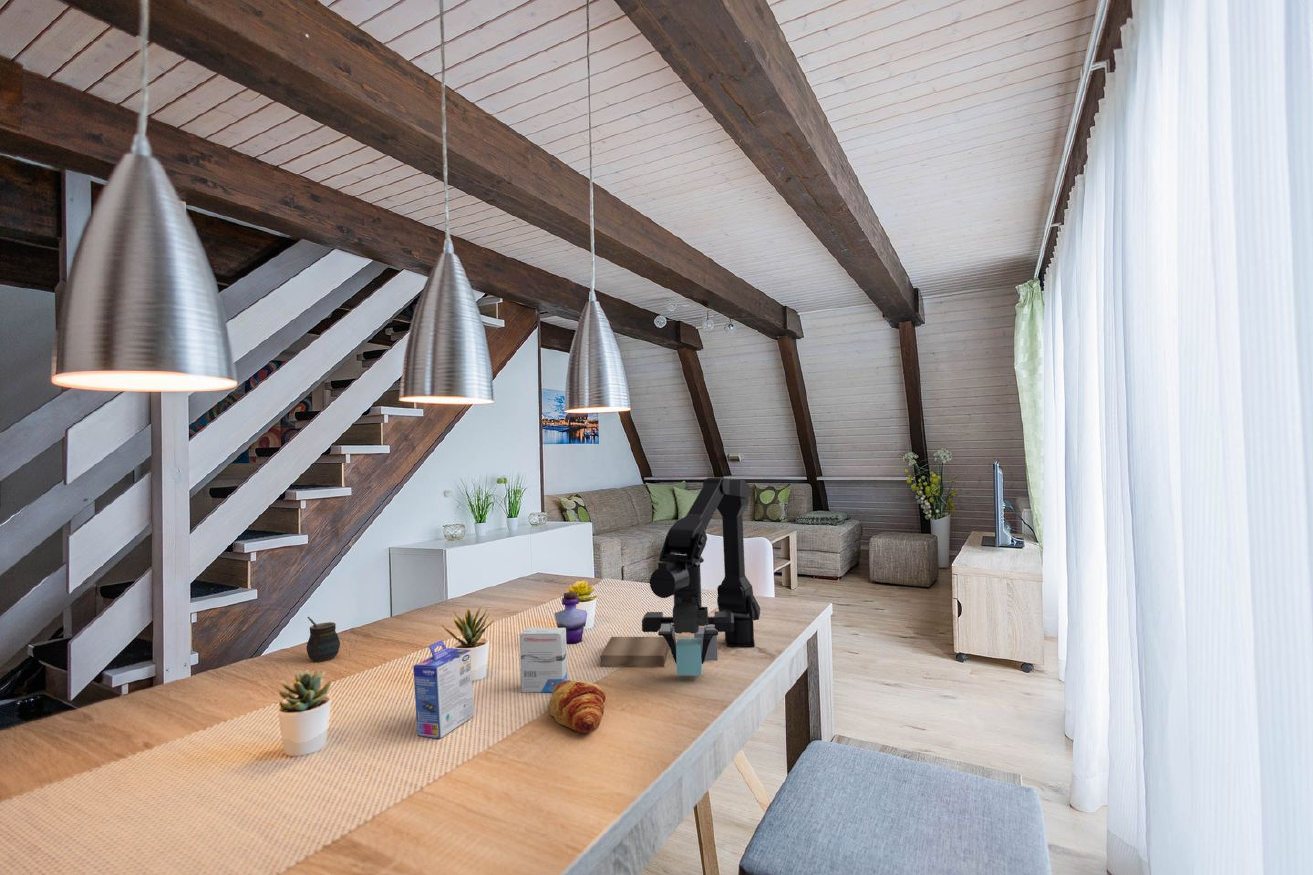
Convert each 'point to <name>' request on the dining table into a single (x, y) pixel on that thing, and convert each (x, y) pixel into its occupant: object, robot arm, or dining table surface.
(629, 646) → the walnut slab
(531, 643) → the ink box
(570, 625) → the potion bottle
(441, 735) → the ink cartridge box
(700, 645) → the teal block
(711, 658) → the gray block
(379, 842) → the dining table surface
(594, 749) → the dining table surface
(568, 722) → the croissant
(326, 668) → the dining table surface
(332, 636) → the mate gourd
